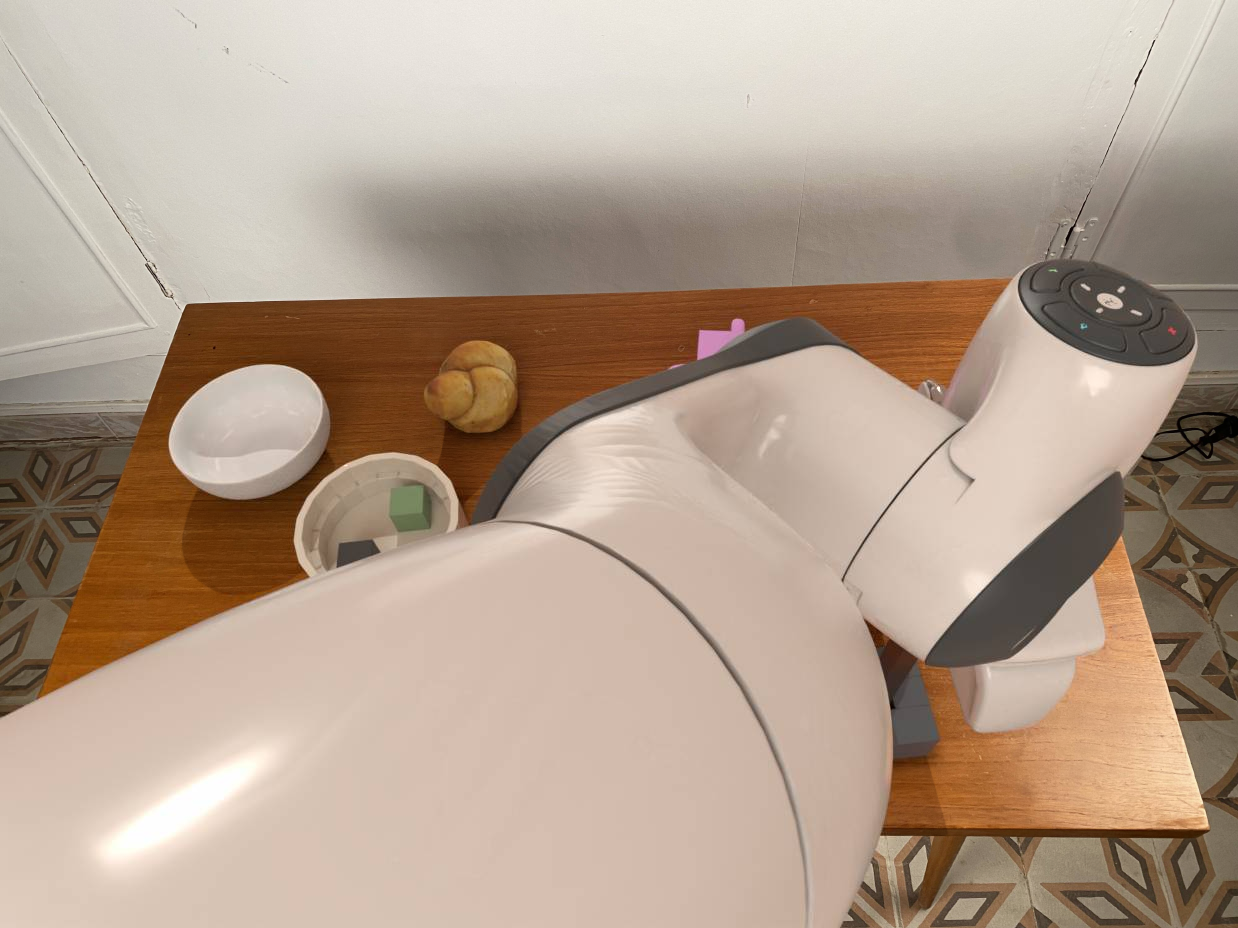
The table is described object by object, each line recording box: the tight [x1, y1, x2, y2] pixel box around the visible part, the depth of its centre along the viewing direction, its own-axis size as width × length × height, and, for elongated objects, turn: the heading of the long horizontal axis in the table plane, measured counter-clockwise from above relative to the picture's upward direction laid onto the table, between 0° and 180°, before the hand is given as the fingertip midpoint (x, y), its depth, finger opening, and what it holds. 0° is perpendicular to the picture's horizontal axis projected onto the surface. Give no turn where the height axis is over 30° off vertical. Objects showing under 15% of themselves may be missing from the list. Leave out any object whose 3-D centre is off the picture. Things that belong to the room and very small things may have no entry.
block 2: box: [389, 485, 432, 532], centre depth 90 cm, size 4×4×4 cm
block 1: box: [336, 540, 381, 568], centre depth 86 cm, size 4×4×4 cm
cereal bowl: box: [168, 363, 331, 501], centre depth 95 cm, size 17×17×7 cm
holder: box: [875, 646, 941, 760], centre depth 76 cm, size 9×9×5 cm
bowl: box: [293, 451, 469, 578], centre depth 88 cm, size 17×17×6 cm
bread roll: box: [423, 340, 519, 434], centre depth 98 cm, size 13×10×8 cm
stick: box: [879, 638, 919, 703], centre depth 65 cm, size 2×2×24 cm
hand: (927, 609), depth 58 cm, fingers closed on stick, 2 cm apart
